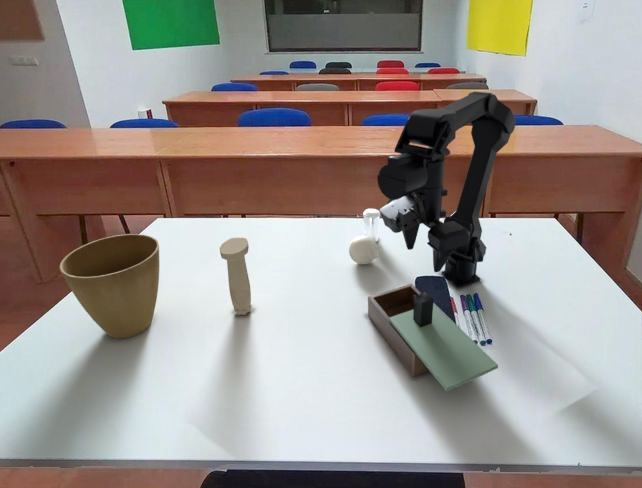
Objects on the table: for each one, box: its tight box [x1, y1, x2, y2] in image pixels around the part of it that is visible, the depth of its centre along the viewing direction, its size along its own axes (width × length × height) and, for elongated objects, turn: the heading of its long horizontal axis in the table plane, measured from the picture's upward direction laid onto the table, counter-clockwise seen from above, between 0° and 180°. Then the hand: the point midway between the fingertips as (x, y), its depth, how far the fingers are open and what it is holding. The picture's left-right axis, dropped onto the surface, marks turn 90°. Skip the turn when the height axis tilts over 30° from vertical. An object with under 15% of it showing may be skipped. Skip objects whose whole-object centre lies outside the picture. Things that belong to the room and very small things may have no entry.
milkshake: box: [362, 208, 381, 244], centre depth 106 cm, size 5×5×10 cm
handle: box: [219, 237, 252, 316], centre depth 77 cm, size 5×6×15 cm
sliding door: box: [389, 291, 499, 392], centre depth 64 cm, size 10×17×6 cm, turn 27°
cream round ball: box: [348, 235, 379, 265], centre depth 96 cm, size 7×7×7 cm
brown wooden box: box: [367, 283, 430, 377], centre depth 72 cm, size 10×17×4 cm, turn 27°
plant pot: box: [59, 233, 160, 340], centre depth 73 cm, size 15×15×16 cm
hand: (422, 259), depth 75 cm, fingers open, 9 cm apart
